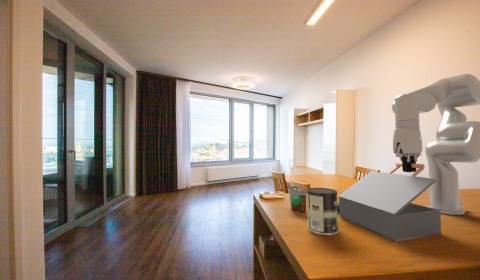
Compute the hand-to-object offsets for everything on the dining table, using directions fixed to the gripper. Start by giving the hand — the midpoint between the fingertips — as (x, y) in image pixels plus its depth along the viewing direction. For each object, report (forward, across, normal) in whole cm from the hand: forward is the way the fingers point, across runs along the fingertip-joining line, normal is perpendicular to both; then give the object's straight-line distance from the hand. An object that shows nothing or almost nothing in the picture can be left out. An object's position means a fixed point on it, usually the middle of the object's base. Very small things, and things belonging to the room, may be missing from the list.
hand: (409, 171), depth 84 cm
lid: (+5, +11, 0) cm, 12 cm away
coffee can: (+19, +39, -3) cm, 43 cm away
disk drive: (+20, +20, -22) cm, 36 cm away
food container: (+19, +36, -27) cm, 49 cm away
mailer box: (+19, +14, 0) cm, 24 cm away
